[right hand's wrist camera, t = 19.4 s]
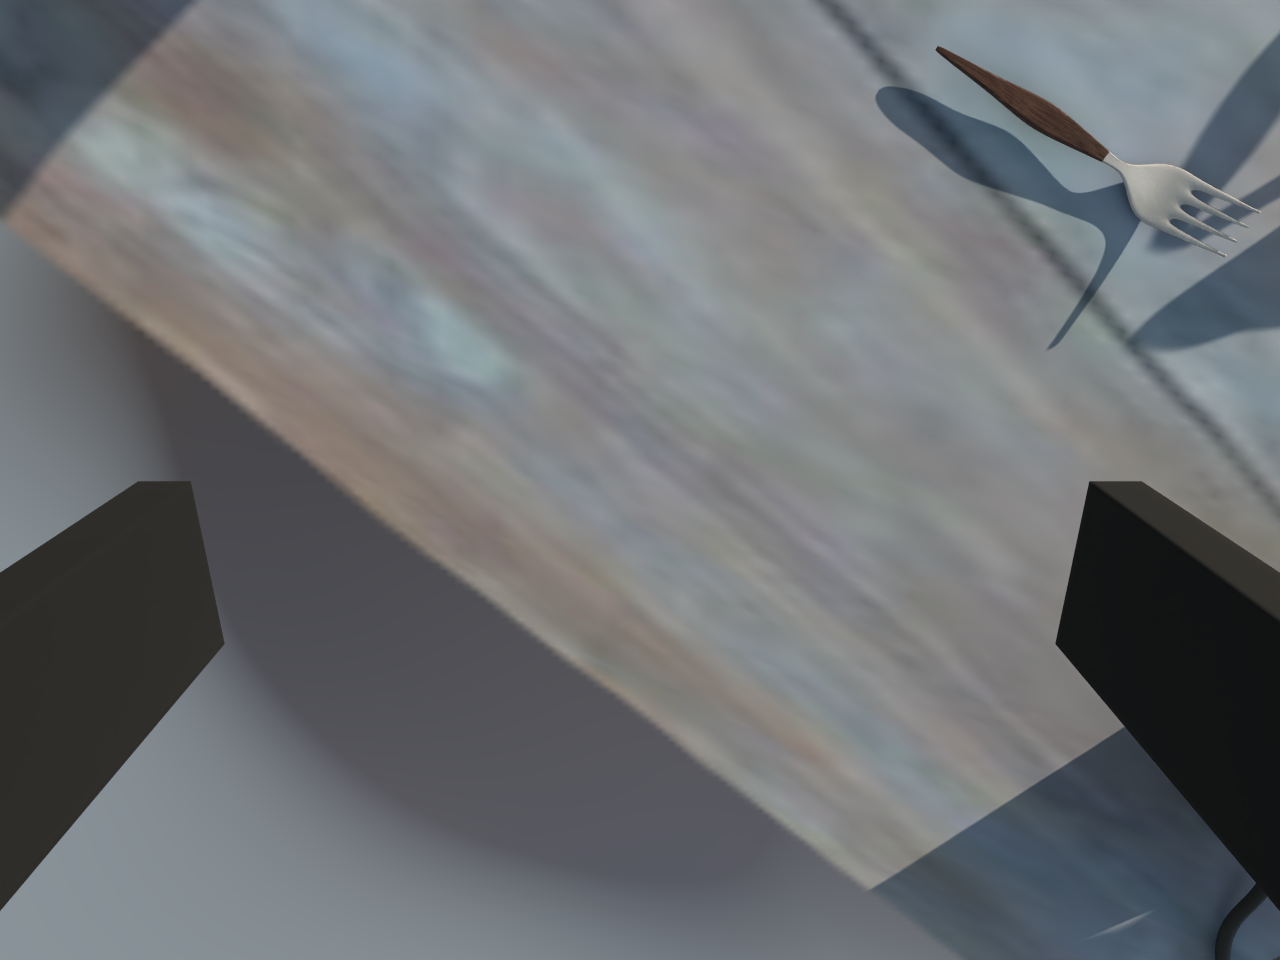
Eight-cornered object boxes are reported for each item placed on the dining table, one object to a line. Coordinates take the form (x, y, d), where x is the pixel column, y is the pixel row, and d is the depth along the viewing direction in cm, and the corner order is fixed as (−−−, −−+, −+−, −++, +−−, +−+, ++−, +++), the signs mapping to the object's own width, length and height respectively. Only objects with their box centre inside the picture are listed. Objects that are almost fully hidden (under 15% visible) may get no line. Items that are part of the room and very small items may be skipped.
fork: (950, 18, 36) (967, 11, 34) (1235, 205, 39) (1265, 207, 37) (915, 78, 37) (930, 74, 35) (1196, 256, 39) (1223, 262, 38)
